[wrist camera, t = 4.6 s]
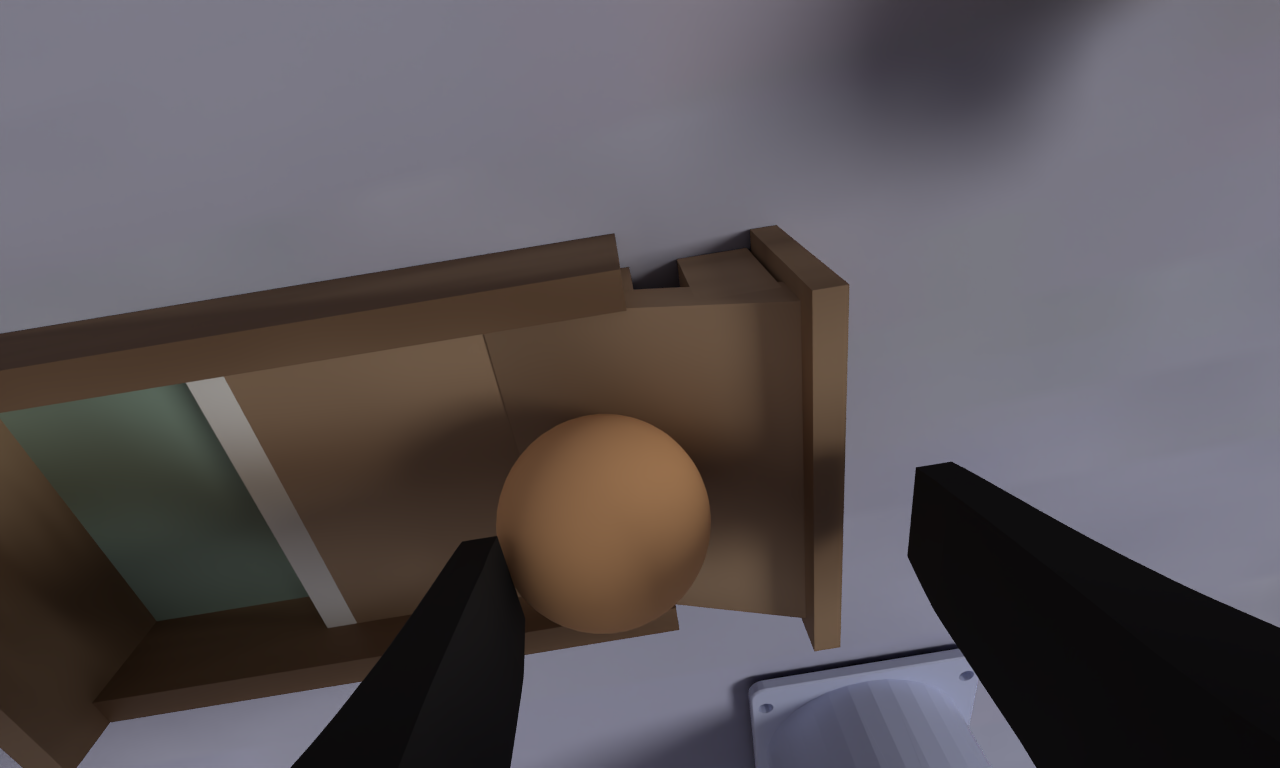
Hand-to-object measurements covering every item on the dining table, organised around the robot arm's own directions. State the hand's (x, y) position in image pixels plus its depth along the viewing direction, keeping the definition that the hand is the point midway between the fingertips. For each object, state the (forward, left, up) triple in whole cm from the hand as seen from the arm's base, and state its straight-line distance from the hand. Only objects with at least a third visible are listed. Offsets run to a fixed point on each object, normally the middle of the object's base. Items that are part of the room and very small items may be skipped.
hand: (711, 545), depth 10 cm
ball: (0, +2, -1) cm, 2 cm away
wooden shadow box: (-1, +7, -5) cm, 9 cm away
